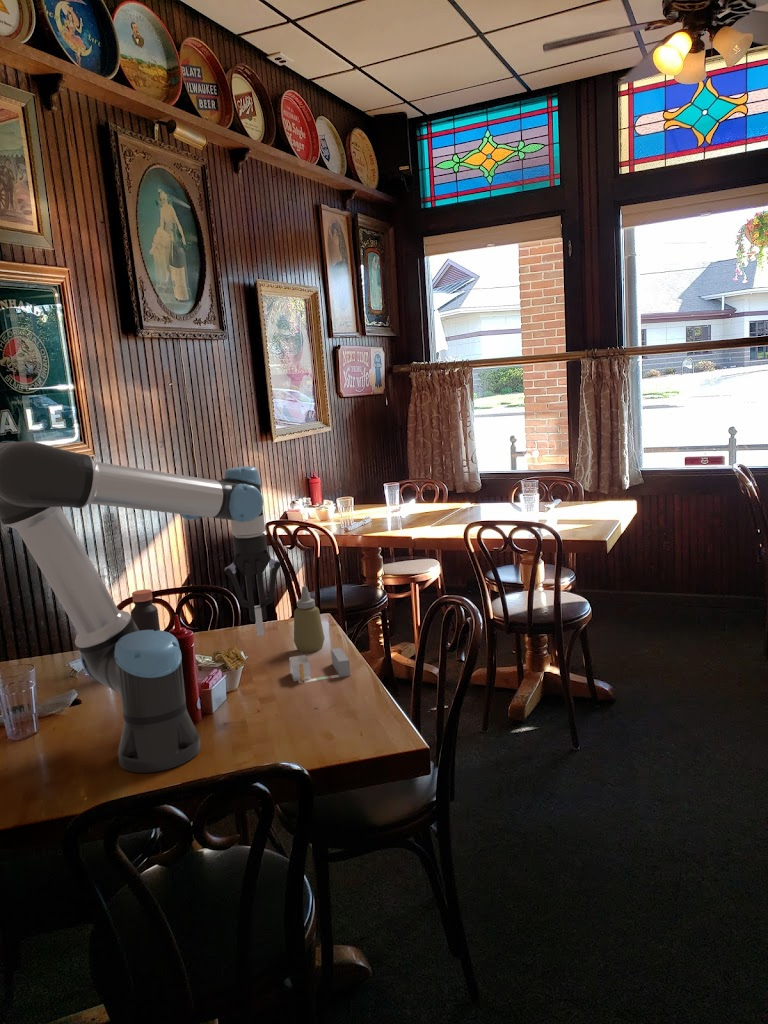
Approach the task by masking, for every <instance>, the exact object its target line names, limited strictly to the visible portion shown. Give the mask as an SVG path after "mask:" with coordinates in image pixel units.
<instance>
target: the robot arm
mask: <svg viewBox="0 0 768 1024" xmlns="http://www.w3.org/2000/svg"><path fill="white" fill-rule="evenodd" d="M259 474H260V473H259V470H258V468H257V467H255V466H251V465H249V466H248V465H247V466H237V467H230V468H228V469H227V468H226V470H225V471H224V478H222V479H217V480H216V479H208V478H202V477H195V476H191V475H190V476H189V475H183V474H178V473H177V474H176V473H170V472H163V471H158V470H151V469H145V468H137V467H132V466H126V465H125V466H124V465H118V464H112V463H107V462H106V463H105V462H100V461H96V460H95V461H94V459H93V458H92V456H91V455H90V454H84V453H79V452H73V451H70V450H65V449H61V448H58V447H54V446H50V445H48V444H44V443H41V442H36V441H31V440H30V441H29V440H24V441H22V440H21V441H14V440H5V441H4V440H3V441H1V442H0V521H1V523H2V525H3V526H5V527H9V528H13V529H15V530H16V531H17V532H18V534H19V535H20V538H21V539H22V540H23V542H24V544H25V545H26V548H27V549H28V552H29V553H30V554H31V556H32V558H33V560H34V561H35V562H36V564H37V567H38V568H39V570H40V571H41V572H42V575H43V576H44V578H45V580H46V581H47V583H48V585H49V586H50V588H51V590H52V592H53V593H54V594H55V596H56V598H57V600H58V601H59V603H60V604H61V606H62V608H63V610H64V612H65V613H66V614H67V617H68V618H69V620H70V622H71V623H72V624H73V627H74V628H75V629H76V632H77V634H76V636H75V640H74V644H75V646H76V648H77V649H78V651H79V653H80V662H81V665H82V667H83V669H84V671H85V672H86V674H87V675H88V676H89V677H90V678H91V679H92V680H94V682H96V683H98V684H100V685H103V686H105V687H107V688H109V689H111V690H113V691H114V692H116V693H119V695H120V700H121V701H120V702H121V708H122V717H123V727H122V731H121V736H120V741H119V745H118V750H117V753H118V754H117V756H118V763H119V766H120V767H121V768H122V769H123V770H125V771H128V772H132V773H138V774H141V773H142V774H145V773H157V772H162V771H166V770H170V769H172V768H173V769H174V768H176V767H179V766H181V765H184V764H186V763H187V762H189V761H190V760H192V759H193V758H195V757H196V756H197V755H198V754H199V752H200V750H201V739H200V735H199V732H198V731H197V728H196V727H195V724H194V722H193V721H192V720H193V719H192V718H191V716H190V714H189V712H188V709H187V701H186V691H185V680H184V673H183V663H182V659H183V658H182V657H183V656H182V652H181V649H180V644H179V641H178V639H177V638H176V637H175V636H174V635H173V634H172V633H170V632H168V631H165V630H161V629H160V630H158V631H154V630H142V631H139V629H138V628H137V626H136V624H135V622H134V620H133V619H132V617H131V613H130V612H129V611H126V610H125V611H124V610H120V609H119V608H118V607H117V604H116V603H115V601H114V600H113V598H112V595H111V594H110V592H109V591H108V589H107V587H106V585H105V584H104V582H103V579H102V577H101V576H100V575H99V573H98V571H97V569H96V568H95V566H94V565H93V562H92V560H91V559H90V557H89V556H88V554H87V552H86V550H85V548H84V546H83V544H82V543H81V541H80V539H79V537H78V536H77V534H76V532H75V530H74V528H73V526H72V525H71V523H70V521H69V519H68V518H67V516H66V514H65V513H64V511H63V509H62V508H74V509H75V508H76V509H84V508H85V507H86V506H88V505H89V504H91V505H98V506H106V507H107V506H108V507H117V508H125V509H133V510H141V511H153V512H159V513H167V514H168V513H169V514H171V513H172V514H178V515H180V516H181V518H182V519H185V520H188V521H189V520H199V519H203V518H212V519H218V520H228V521H230V526H231V527H230V528H231V534H232V536H234V537H233V538H232V544H233V545H232V546H233V552H234V553H233V554H234V555H233V556H234V557H233V558H232V563H231V564H229V565H228V566H225V567H224V573H225V574H226V575H227V577H229V578H230V581H231V583H232V585H233V588H234V591H235V593H236V597H237V599H238V602H239V604H240V607H241V608H247V609H248V612H249V620H250V622H251V623H254V622H255V631H256V635H257V637H261V636H265V631H264V630H265V629H264V622H263V621H267V619H268V616H267V615H268V613H267V606H268V605H270V604H272V603H274V599H275V598H274V596H275V590H276V583H277V575H278V571H279V569H280V568H281V562H280V560H279V559H274V558H272V557H271V555H270V553H269V551H268V542H267V535H266V534H265V533H264V532H265V531H266V524H265V523H266V522H265V516H264V507H263V506H264V498H263V495H262V488H261V487H262V484H261V479H260V475H259ZM268 565H269V568H270V572H269V573H270V574H269V580H268V588H267V594H265V588H264V587H265V585H264V576H263V575H264V574H263V573H264V572H265V570H266V569H267V567H268ZM236 568H237V569H238V570H239V572H240V573H241V574H242V575H244V579H245V580H244V581H245V587H246V596H247V600H245V596H244V594H243V592H242V590H241V587H240V584H239V582H238V579H237V577H236V573H237V569H236ZM253 575H255V576H256V577H255V578H256V585H257V592H258V601H259V605H255V599H254V591H253V582H252V581H253V579H252V576H253ZM265 595H266V596H265Z"/></svg>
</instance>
